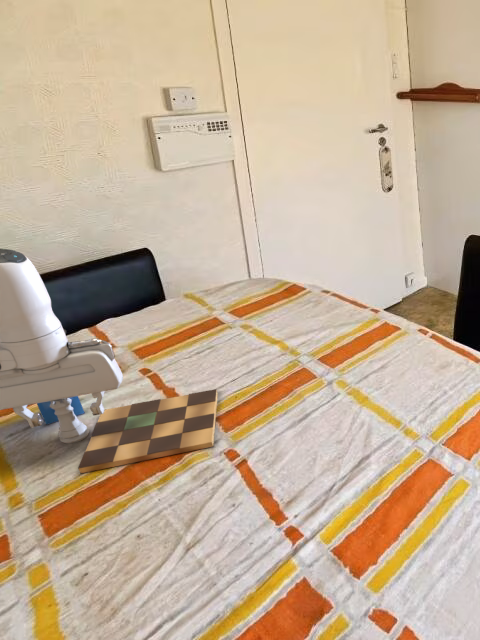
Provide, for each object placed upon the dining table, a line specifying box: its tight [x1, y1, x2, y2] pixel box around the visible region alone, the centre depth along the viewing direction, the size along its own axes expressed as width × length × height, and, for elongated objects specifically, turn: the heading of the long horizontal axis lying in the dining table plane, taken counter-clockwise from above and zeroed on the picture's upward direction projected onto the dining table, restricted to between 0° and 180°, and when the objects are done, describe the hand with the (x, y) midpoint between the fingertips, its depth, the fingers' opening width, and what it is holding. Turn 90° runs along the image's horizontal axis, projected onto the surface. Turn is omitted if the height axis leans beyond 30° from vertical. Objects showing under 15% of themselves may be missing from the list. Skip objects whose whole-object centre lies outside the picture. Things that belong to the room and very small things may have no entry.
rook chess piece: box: [50, 398, 90, 445], centre depth 109 cm, size 4×4×8 cm
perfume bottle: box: [36, 396, 85, 426], centre depth 116 cm, size 6×6×12 cm
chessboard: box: [77, 388, 219, 474], centre depth 112 cm, size 20×20×1 cm
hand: (68, 419), depth 109 cm, fingers open, 8 cm apart
